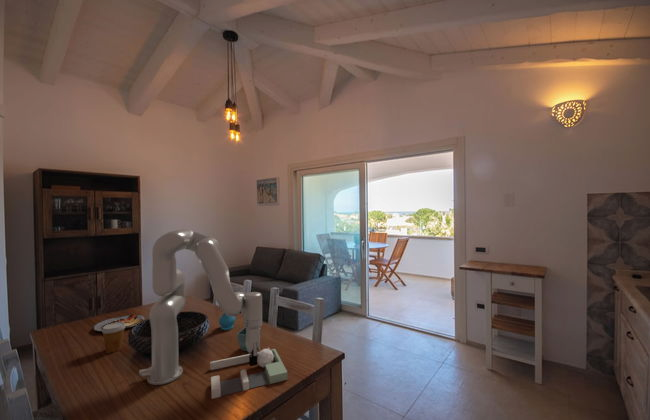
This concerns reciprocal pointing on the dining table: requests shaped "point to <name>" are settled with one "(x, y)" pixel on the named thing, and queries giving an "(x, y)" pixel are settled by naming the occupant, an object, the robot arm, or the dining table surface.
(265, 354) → the ornament
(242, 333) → the flower pot
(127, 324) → the food plate
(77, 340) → the dining table surface
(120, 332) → the disposable coffee cup
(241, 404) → the dining table surface
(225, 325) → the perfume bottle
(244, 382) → the u-shaped rail frame
